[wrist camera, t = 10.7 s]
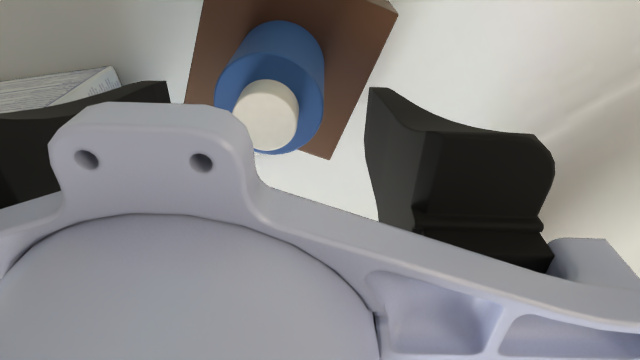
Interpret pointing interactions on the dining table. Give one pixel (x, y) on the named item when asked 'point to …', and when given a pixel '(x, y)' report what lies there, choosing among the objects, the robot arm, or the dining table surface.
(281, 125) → the blue bottle
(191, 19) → the dining table surface
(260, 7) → the walnut block
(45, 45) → the dining table surface
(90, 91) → the medicine box
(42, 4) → the dining table surface
